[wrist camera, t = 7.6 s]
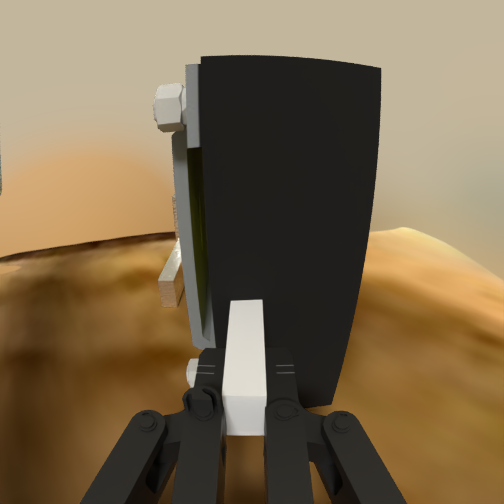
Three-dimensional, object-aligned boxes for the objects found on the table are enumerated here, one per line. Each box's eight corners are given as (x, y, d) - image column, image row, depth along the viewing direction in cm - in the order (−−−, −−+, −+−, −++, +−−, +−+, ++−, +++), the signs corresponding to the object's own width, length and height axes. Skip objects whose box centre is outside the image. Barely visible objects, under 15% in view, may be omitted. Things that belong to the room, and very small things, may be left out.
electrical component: (202, 280, 35) (192, 88, 26) (294, 276, 35) (302, 88, 27) (190, 414, 19) (144, 62, 10) (340, 403, 19) (394, 70, 11)
